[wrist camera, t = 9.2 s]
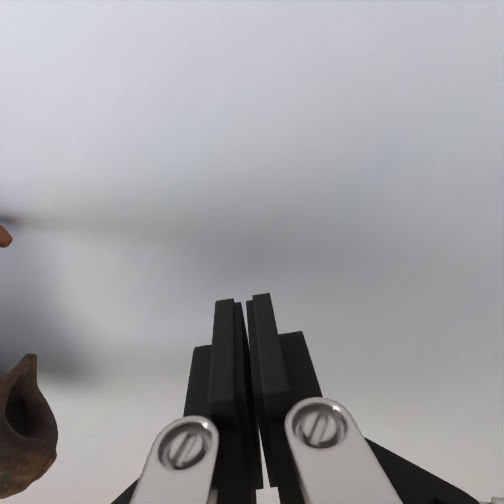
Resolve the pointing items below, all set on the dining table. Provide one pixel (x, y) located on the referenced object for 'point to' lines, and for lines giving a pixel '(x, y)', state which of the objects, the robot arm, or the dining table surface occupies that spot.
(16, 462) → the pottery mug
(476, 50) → the dining table surface
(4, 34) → the dining table surface
